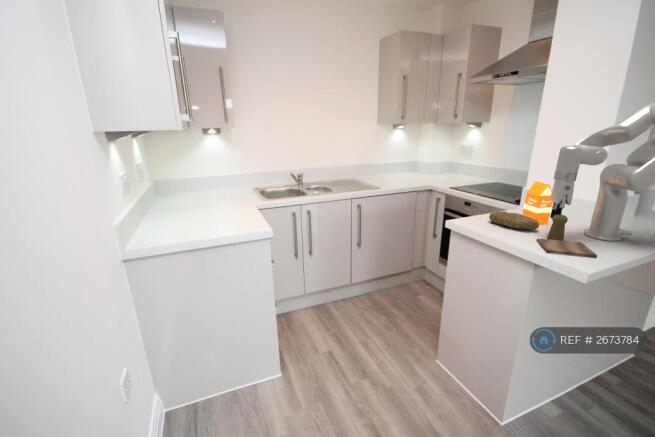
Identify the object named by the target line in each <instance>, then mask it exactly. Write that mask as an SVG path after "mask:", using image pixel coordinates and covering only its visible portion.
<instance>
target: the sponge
mask: <svg viewBox="0 0 655 437" xmlns="http://www.w3.org/2000/svg"><path fill="white" fill-rule="evenodd" d="M488 218H489V220H490V222H492V223H494V224H496V225H497V224H498V225H501V226H505V227H509V228H513V229H518V230H536V229H539V227H540V224H539V223H538V221H537V220H536V219H533V218H530V217H528V216H525V215H522V214H521V213H517V212H508V211H505V210H503V211H502V210H501V211H500V210H498V211H497V210H494V211H492V212H491V213H489V216H488Z"/></svg>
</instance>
